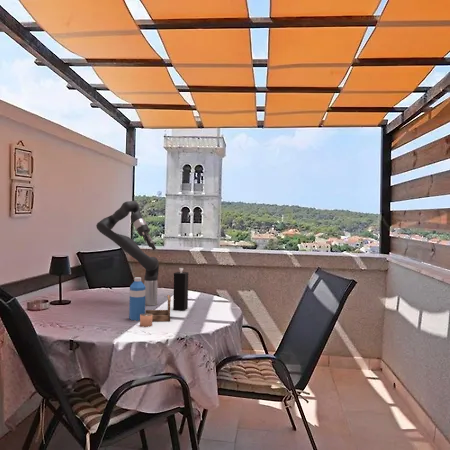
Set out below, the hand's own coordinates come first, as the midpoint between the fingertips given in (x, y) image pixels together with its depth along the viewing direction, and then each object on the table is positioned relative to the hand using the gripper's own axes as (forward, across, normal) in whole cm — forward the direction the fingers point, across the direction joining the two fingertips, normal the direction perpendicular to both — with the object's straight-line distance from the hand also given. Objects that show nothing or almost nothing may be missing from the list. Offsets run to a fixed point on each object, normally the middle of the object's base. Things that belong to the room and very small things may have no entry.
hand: (152, 248), depth 272 cm
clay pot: (+43, +15, -22) cm, 51 cm away
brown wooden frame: (+40, 0, -18) cm, 44 cm away
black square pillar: (+39, -26, -6) cm, 47 cm away
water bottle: (+35, +3, -28) cm, 45 cm away
